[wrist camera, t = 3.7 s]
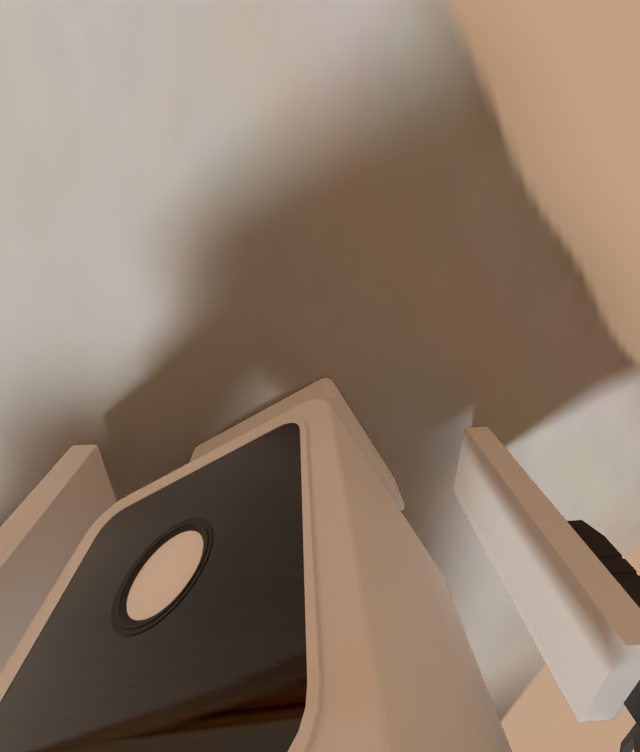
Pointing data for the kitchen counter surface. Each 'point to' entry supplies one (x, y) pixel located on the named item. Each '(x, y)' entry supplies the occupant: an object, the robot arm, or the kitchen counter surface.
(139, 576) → the security camera
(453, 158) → the kitchen counter surface
